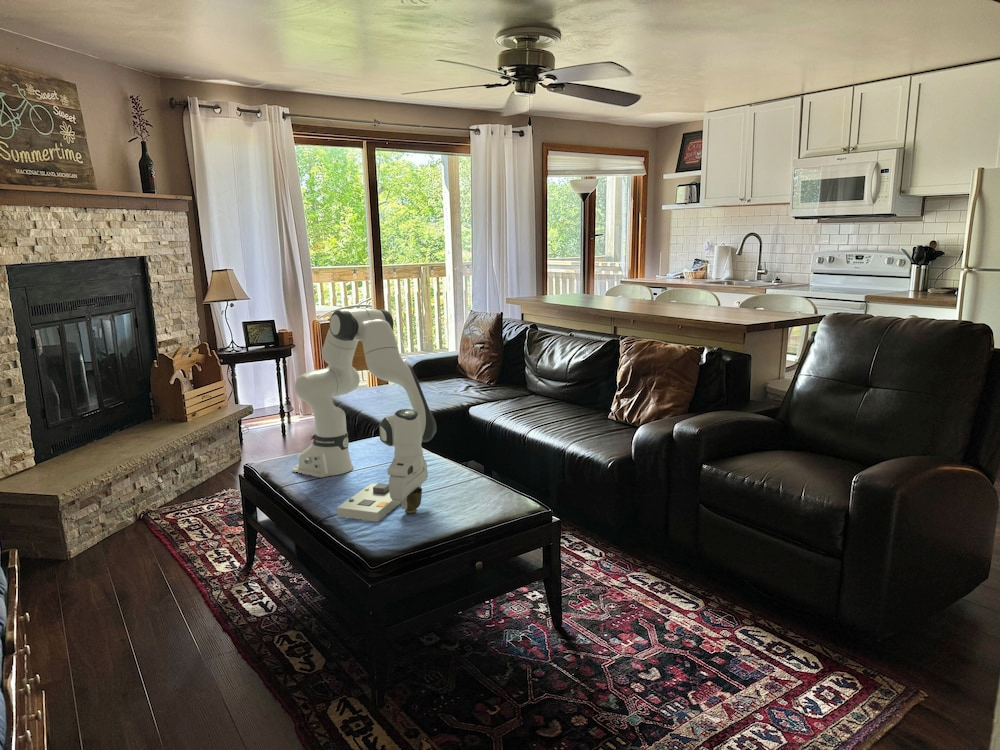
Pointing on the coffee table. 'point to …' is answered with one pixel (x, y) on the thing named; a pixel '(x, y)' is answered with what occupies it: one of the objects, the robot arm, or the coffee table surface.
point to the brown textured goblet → (414, 501)
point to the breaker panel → (369, 513)
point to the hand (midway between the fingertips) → (410, 503)
